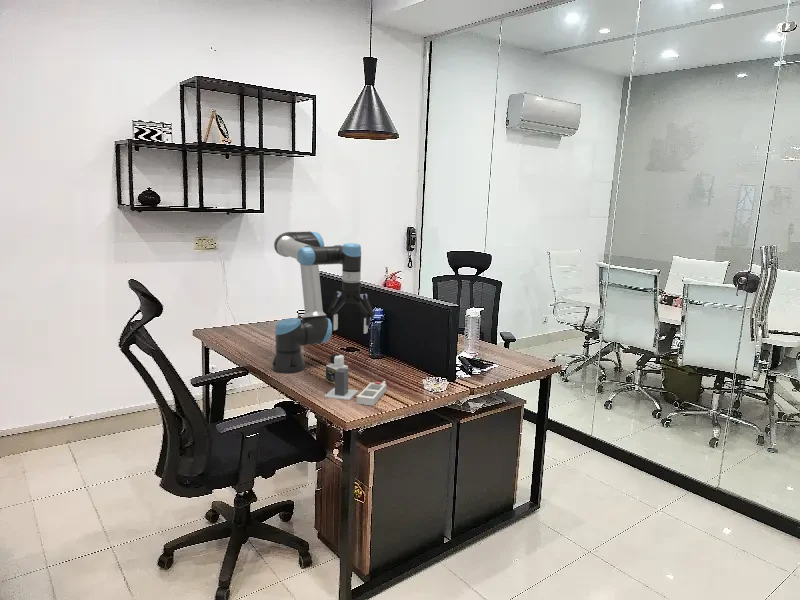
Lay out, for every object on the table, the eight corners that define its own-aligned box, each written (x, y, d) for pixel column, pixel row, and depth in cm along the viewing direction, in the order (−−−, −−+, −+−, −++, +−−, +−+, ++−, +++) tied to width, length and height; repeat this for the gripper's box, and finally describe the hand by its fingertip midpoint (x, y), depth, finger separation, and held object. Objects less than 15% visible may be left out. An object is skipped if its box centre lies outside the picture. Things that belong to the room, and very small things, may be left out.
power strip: (377, 382, 248) (377, 374, 247) (392, 384, 246) (392, 376, 245) (356, 403, 222) (356, 394, 221) (373, 405, 220) (373, 396, 220)
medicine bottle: (325, 380, 248) (325, 354, 246) (338, 377, 253) (338, 351, 251) (335, 384, 243) (335, 358, 241) (348, 381, 248) (348, 355, 246)
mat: (334, 388, 239) (334, 387, 239) (358, 391, 236) (358, 390, 236) (324, 397, 228) (324, 396, 228) (349, 400, 226) (349, 399, 225)
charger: (339, 390, 235) (339, 368, 233) (348, 391, 234) (348, 369, 232) (334, 394, 230) (334, 371, 228) (343, 395, 229) (344, 372, 227)
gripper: (319, 280, 229) (319, 330, 234) (376, 285, 222) (375, 336, 227) (327, 277, 237) (327, 326, 241) (382, 282, 229) (381, 332, 234)
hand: (350, 331), depth 234 cm, fingers open, 13 cm apart
